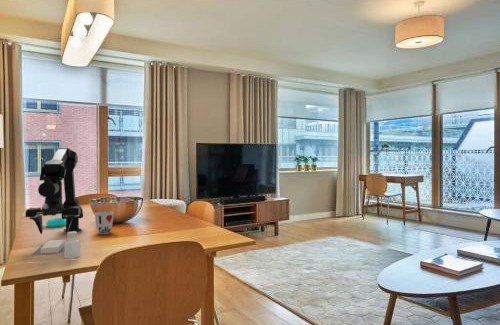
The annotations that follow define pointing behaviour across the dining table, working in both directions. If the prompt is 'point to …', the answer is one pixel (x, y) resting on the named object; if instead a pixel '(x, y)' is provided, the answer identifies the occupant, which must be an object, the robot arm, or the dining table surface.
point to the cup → (104, 221)
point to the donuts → (56, 222)
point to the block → (52, 246)
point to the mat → (47, 253)
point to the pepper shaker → (72, 245)
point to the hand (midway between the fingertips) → (54, 233)
